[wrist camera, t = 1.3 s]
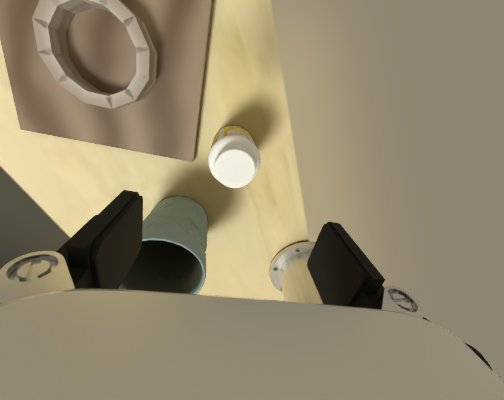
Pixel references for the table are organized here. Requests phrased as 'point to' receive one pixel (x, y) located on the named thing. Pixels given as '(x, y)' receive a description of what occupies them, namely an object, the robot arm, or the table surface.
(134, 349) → the robot arm
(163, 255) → the blue-grey plant pot
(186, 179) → the table surface
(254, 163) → the supplement bottle
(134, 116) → the collar board
